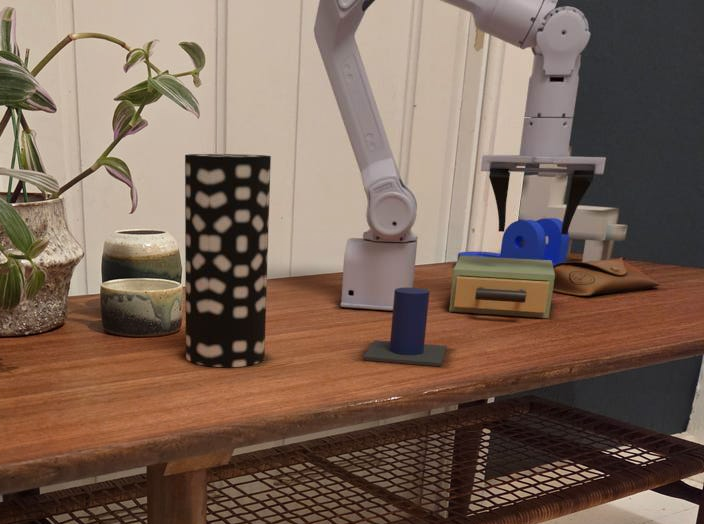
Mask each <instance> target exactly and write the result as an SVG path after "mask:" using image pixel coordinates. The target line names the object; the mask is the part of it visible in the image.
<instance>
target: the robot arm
mask: <svg viewBox="0 0 704 524" xmlns="http://www.w3.org/2000/svg"><path fill="white" fill-rule="evenodd" d="M375 1H376V0H319V2H318V7H317V12H316V16H315V20H314V21H315V22H314V26H313V32H314V39H315V42H316V45H317V48H318V50H319V54H320V56H321V60H322V62H323V65H324V69H325V71H326V74H327V75H326V76H327V77H328V80H329V83H330V86H331V90H332V92H333V95H334V98H335V101H336V105H337V107H338V110H339V113H340V116H341V119H342V122H343V125H344V128H345V131H346V134H347V137H348V140H349V143H350V146H351V148H352V151H353V155H354V158H355V160H356V163H357V166H358V169H359V173H360V177H361V181H362V186H363V189H364V192H365V196H366V200H367V206H366V213H365V218H366V222H367V225H368V227H369V229H368V230H366V231H364V232H363V233H362V237H350V238H348V239H347V241H346V244H345V249H344V255H343V265H342V266H343V267H342V282H341V283H342V284H341V299H340V301H341V302H340V305H339V306H340V307H341V308H350V309H351V308H352V309H361V310H363V309H364V310H376V311H377V310H378V311H392V312H393V303H394V292H395V289H397V288H414V282H415V280H414V279H415V269H416V258H417V249H418V248H417V247H418V239H419V236H418V235H417V234H415V233H414V232H413V231H412V228H413V227H414V225H415V223H416V220H417V211H418V203H417V199H416V197H415V194H414V192H412V190H411V189H409V188H408V187H407V186H406V185H405V183H404V182H403V179H402V176H401V174H400V171H399V168H398V165H397V162H396V160H395V157H394V155H393V151H392V148H391V145H390V141H389V139H388V136H387V133H386V130H385V127H384V123H383V120H382V118H381V115H380V112H379V109H378V105H377V102H376V99H375V96H374V93H373V90H372V87H371V83H370V81H369V77H368V74H367V71H366V68H365V65H364V62H363V59H362V56H361V53H360V50H359V48H358V44H357V41H356V37H355V35H356V33H357V31H358V29H359V27H360V24H361V23H362V20H363V19H364V15H365V13H366V11H367V10H368V9H369V8H370V6H371V5H373V3H374V2H375ZM439 1H441V2H443V3H446V4H448V5H450V6H453V7H455V8H458V9H461V10H463V11H465V12H469V14H471V15H472V17H473V22H474V26H475V29H477V30H478V31H480V32H483V33H485V34H487V35H489V36H491V37H493V38H496V39H499V40H500V41H503V42H505V43H508V44H510V45H512V46H514V47H515V48H516V47H517V48H519V49H520V50H525V49H528V48H530V50H531V52H532V54H533V60H532V61H533V62H532V68H531V75H530V76H529V79H528V85H527V92H526V100H525V101H526V102H525V108H524V115H523V116H524V118H523V123H522V132H521V137H520V138H521V139H520V147H519V155H518V154H517V155H516V154H483V155H482V158H481V166H480V172H489V175H488V178H489V181H490V184H491V187H492V191H493V195H494V198H495V203H496V208H497V209H496V210H497V216H498V232H501V233H504V232H505V230H506V218H507V202H508V194H509V193H508V192H509V185H510V178H511V173H512V172H513V173H514V172H516V173H517V172H518V173H539V172H547V173H568V174H571V175H570V177H569V182H568V183H569V185H568V192H567V198H566V199H567V200H566V204H565V205H566V210H565V214H564V218H563V223H562V229H561V234H568V230H569V226H570V223H571V220H572V218H573V215H574V213H575V211H576V209H577V207H578V205H580V203H581V201H582V199H583V197H584V196H585V194H586V192H587V191H588V189H589V188H590V186H591V185H592V183H593V181H594V179H595V176H594V175H604V172H605V167H606V159H607V157H605V156H572V155H571V156H567V155H568V148H569V146H570V142H571V141H570V140H571V133H572V127H573V122H574V115H575V108H576V101H577V94H578V89H579V88H578V87H579V82H580V77H579V72H580V71H579V70H580V68H581V56H582V54H581V53H583V51H584V50H585V48H586V47H587V45H588V43H589V40H590V38H591V35H592V34H591V32H590V31H589V30H590V28H589V21H588V19H587V18H586V16H585V14H584V13H583V11H581V10H580V9H578V8H576V7H574V6H568V5H566V6H565V5H564V6H559V7H557V4H558V2H559V0H439ZM527 164H531V165H540V164H557V167H566V168H567V169H559V168H539V167H527Z"/></svg>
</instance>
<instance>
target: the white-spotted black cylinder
mask: <svg viewBox="0 0 704 524" xmlns="http://www.w3.org/2000/svg"><path fill="white" fill-rule="evenodd" d="M271 162H272V156H271V155H267V154H266V155H264V154H243V153H242V154H241V153H240V154H239V153H192V154H191V153H189V154H185V155H184V217H185V218H184V219H185V220H184V224H185V225H184V226H185V228H184V231H185V232H184V240H185V241H184V243H185V245H184V246H185V247H184V249H185V251H184V253H185V255H184V256H185V260H184V261H185V263H184V264H185V266H184V267H185V269H184V270H185V275H184V276H185V277H184V278H185V286H184V287H185V288H184V289H185V293H184V294H185V359H186V360H187V361H188V362H191V363H193V364H196V365H199V366H205V367H213V368H241V367H248V366H253V365H257V364H259V363H261V362H263V361H264V360H265V351H266V322H267V321H266V320H267V292H268V291H267V289H268V261H269V260H268V256H269V229H270V228H269V226H270V225H269V224H270V195H271V193H270V192H271Z"/></svg>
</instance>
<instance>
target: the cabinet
mask: <svg viewBox="0 0 704 524" xmlns="http://www.w3.org/2000/svg"><path fill="white" fill-rule="evenodd" d="M457 259H458V258H457ZM458 276H461V277H464V276H477V277H494V278H511V279H528V280H543V281H546V282H549V289H548V295H547V302H546V309H545V313H539V312H524V311H509V310H495V309H480V308H465V307H454V300H455V291H456V282H457V277H458ZM554 279H555V273H554V269H553V264H552V261H551V260H532V259H513V258H494V257H475V256H460V257H459V259H458V261H457V260H456V263H455V266H454V268H453V271H452V280H451V290H450V298H449V308H448V311H449V313H450V312H451V313H452V312H453V313H465V314H477V315H478V314H480V315H492V316H493V315H495V316H510V317H523V318H537V319H549V317H550V311H551V304H552V298H553V297H552V296H553V292H554V291H553V285H554Z"/></svg>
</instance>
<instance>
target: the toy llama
mask: <svg viewBox="0 0 704 524" xmlns="http://www.w3.org/2000/svg"><path fill="white" fill-rule="evenodd" d="M572 152H573V145H569V148H568V155H567V156H572V154H573V153H572ZM538 168H559V169H567V168H566V167H557V164H539V167H538ZM537 173H538V174H529V175H527V174H526V175H524V176H523V182H522V183H523V184H522V190H521V198H520V206H519V213H518V220H534V221H537V220H539V219H545V218H556V219H559V220H561V221H562V222H563V218H564V214H565V210H566V205H567V204H565V198H566V193H567V186H568V179H569V173H547V172H537ZM620 211H621V207H609V206H594V205H580V204H579V205H578V207H577V209H576V211H575V213H574V215H573V218H572V220H571V223H570V226H569V230H568V233H569V243H568V249H567V256H566V262H570V256H571V249H572V243H573V239H574V240H584V241H585V242H584V248H583V254H582V260H581V262H588V261H600V260H612V258H613V252H614V246H615V241H616V242H622V241H626V237H627V230H628V224H619V218H620V217H619V216H620ZM546 244H548V236H546Z"/></svg>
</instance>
